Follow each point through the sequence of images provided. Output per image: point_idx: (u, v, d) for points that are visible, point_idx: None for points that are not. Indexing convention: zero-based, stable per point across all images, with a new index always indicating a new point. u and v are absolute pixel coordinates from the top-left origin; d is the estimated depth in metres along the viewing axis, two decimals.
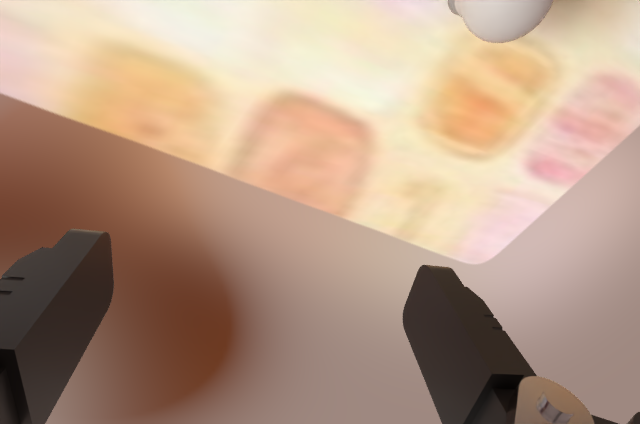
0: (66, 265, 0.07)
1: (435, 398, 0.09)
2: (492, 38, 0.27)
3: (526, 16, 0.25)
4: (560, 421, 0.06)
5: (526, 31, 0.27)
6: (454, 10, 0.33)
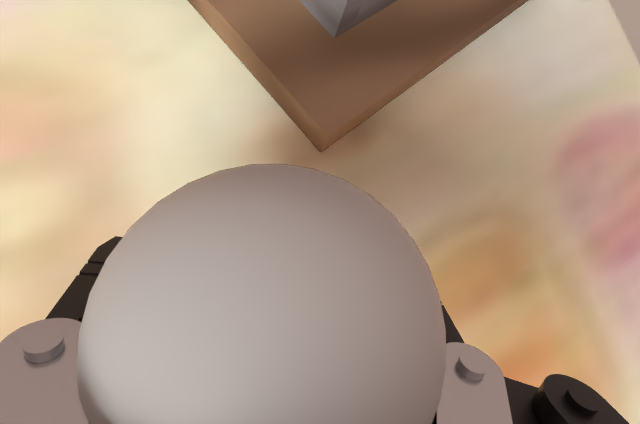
0: None
1: None
2: None
3: (380, 392, 0.04)
4: (471, 380, 0.07)
5: (441, 371, 0.06)
6: None
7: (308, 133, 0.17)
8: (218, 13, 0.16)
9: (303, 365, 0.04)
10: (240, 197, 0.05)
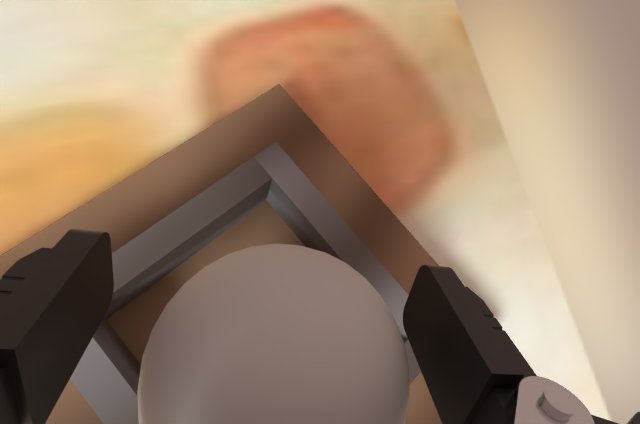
0: (66, 265, 0.07)
1: (434, 398, 0.09)
2: None
3: None
4: (560, 421, 0.06)
5: (404, 405, 0.08)
6: None
7: None
8: None
9: (305, 423, 0.06)
10: (255, 295, 0.07)
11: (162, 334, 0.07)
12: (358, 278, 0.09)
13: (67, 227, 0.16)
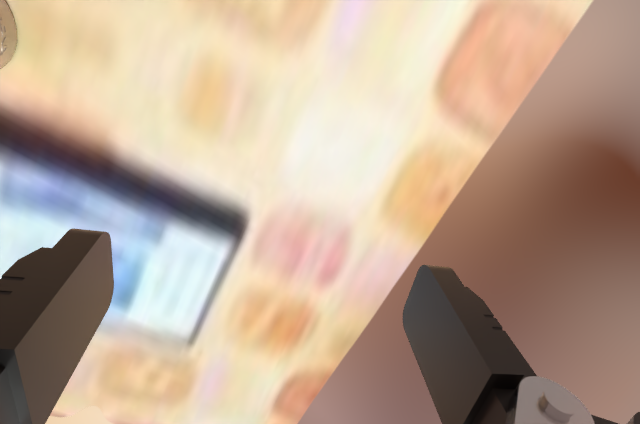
0: (66, 265, 0.07)
1: (434, 398, 0.09)
2: None
3: None
4: (560, 421, 0.06)
5: None
6: None
7: None
8: None
9: None
10: None
11: None
12: None
13: None
